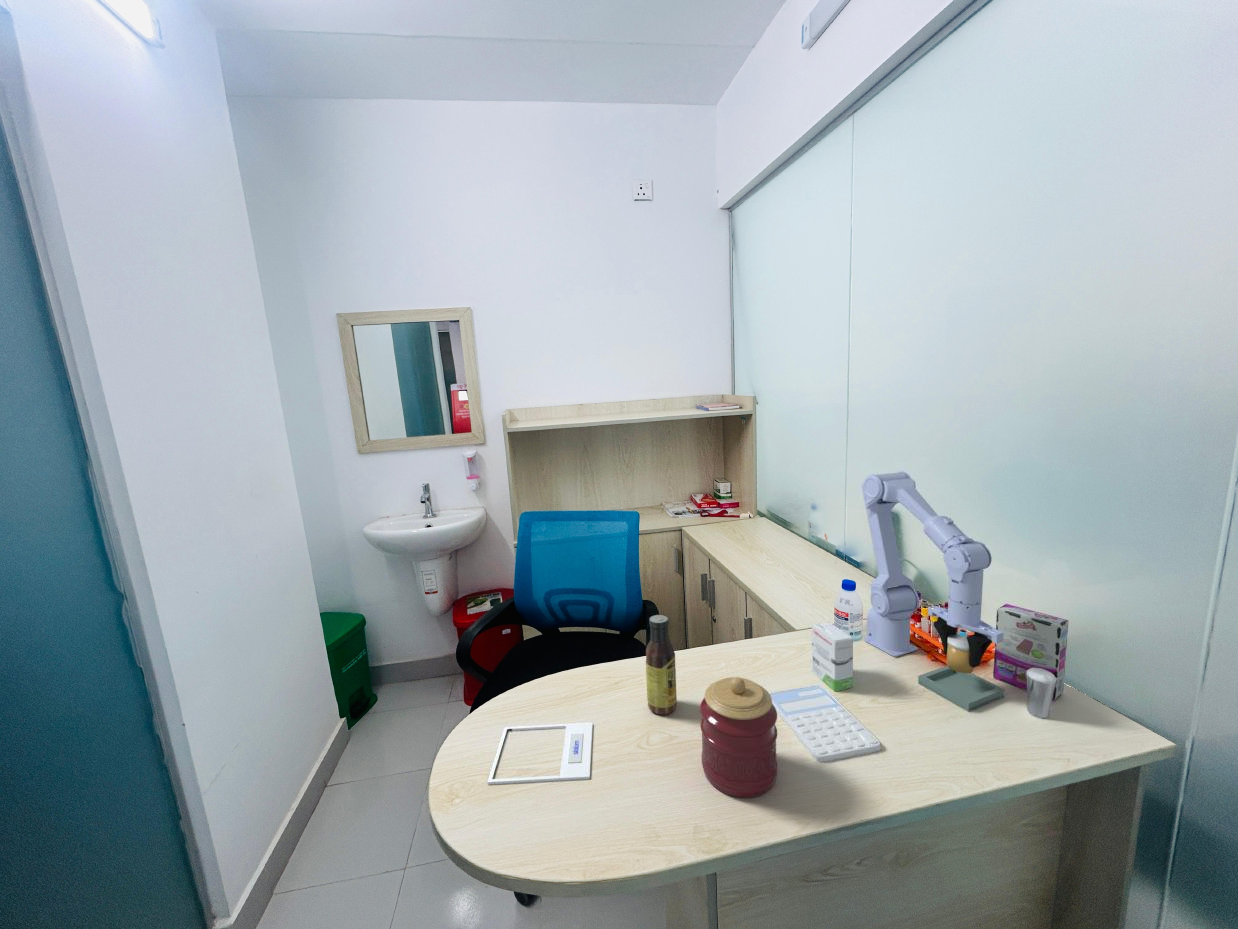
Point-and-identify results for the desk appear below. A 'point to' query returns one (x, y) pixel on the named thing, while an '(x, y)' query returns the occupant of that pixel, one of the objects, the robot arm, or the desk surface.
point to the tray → (961, 687)
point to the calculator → (823, 724)
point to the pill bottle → (958, 654)
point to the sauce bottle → (660, 668)
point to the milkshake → (1040, 691)
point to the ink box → (832, 656)
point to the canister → (739, 737)
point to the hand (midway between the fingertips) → (961, 659)
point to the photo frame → (573, 755)
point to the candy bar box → (1029, 646)
